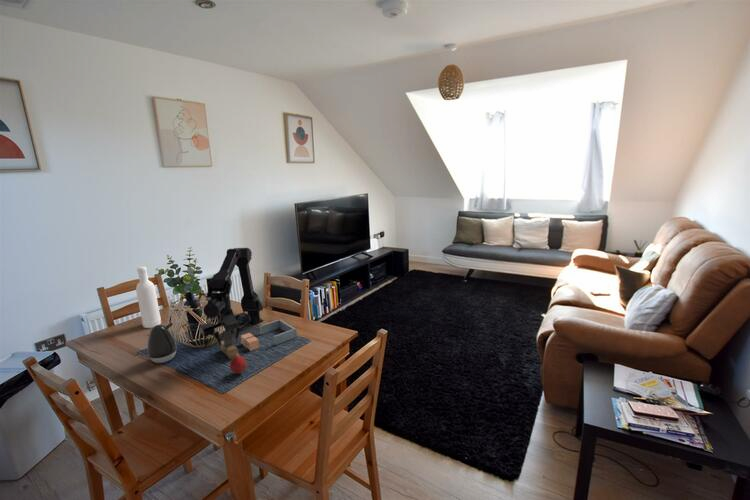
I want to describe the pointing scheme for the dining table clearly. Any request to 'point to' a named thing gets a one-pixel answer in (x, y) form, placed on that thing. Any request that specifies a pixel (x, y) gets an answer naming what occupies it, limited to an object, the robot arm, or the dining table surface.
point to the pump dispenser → (161, 344)
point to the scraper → (228, 345)
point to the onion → (238, 364)
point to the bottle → (147, 300)
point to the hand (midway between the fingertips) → (228, 342)
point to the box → (280, 338)
